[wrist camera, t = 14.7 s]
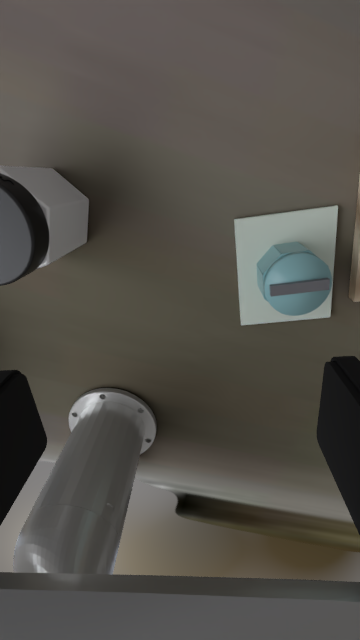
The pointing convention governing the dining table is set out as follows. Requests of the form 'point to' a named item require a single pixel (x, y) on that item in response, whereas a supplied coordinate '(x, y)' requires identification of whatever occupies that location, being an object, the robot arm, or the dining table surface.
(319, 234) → the mat
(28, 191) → the jar
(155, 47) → the dining table surface
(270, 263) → the cap
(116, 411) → the robot arm
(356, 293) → the post base
